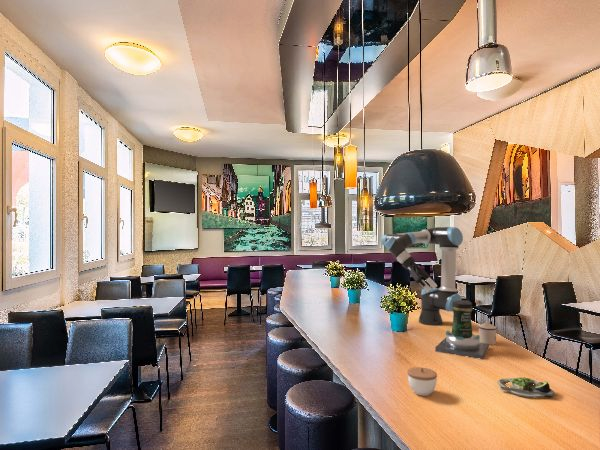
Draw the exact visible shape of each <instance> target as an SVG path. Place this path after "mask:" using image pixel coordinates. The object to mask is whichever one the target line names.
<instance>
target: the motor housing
mask: <svg viewBox="0 0 600 450" xmlns="http://www.w3.org/2000/svg"><path fill="white" fill-rule="evenodd" d="M434 348H435V349H434V350H435V351H434V352H439V353H442V354H443V353H444V354H448V353H449V355H454V354H456V355H455V356H460V355H461V357H465V356H468V357H467V358H471V357H474V358H473V359H477V358H480V359H479V360H483V359H484V358H483V357H485V356H486V354H487V352H488V351H489V349H490V345H489V344H485V343H480V335H479V334H473V333H472V337H461V336H454V335H453V334H452V331H450V330H446V331H445V338H443V339H442V341H441V342H439V343H438V344H437V345H436V346H435V347H434ZM488 348H489V349H488ZM487 350H488V351H487ZM484 355H485V356H484Z"/></svg>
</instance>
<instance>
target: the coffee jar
mask: <svg viewBox="0 0 600 450" xmlns="http://www.w3.org/2000/svg"><path fill="white" fill-rule="evenodd" d="M472 303H473V302H472V301H470V300H466V299H465V300H464V299H463V300H454V301H453V304H452V309H453V313H452V314H453V315H452V316H453V319H452V327H451V332H452V334H453V335H454V336H461V337H472V334H473V327H472V311H473V304H472Z"/></svg>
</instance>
